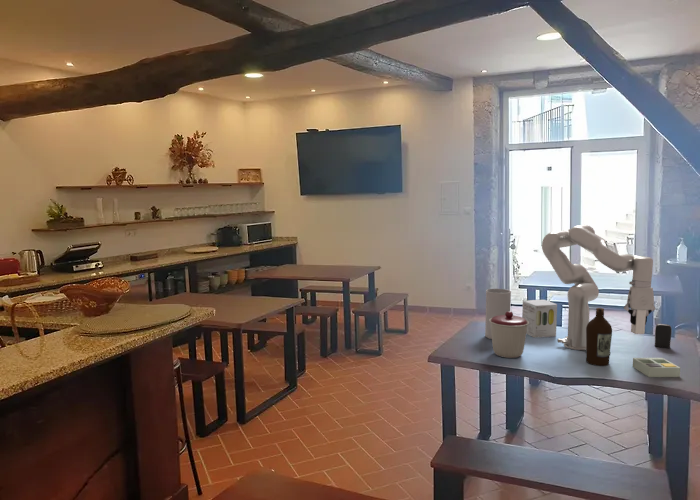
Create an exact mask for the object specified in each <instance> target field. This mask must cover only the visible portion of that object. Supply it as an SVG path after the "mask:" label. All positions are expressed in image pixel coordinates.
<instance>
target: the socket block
mask: <svg viewBox="0 0 700 500" xmlns="http://www.w3.org/2000/svg"><path fill="white" fill-rule="evenodd" d="M632 367H633V368H634V369H635V370H637V371H639V372H640V373H642V374H643V375H644V376H645V377H647V378H680V377H681V367H680V366H678V365H676V364H675V363H673V362H671V361H669V360H667V359H665V358H664V357H632Z"/></svg>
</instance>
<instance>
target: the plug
mask: <svg viewBox="0 0 700 500" xmlns="http://www.w3.org/2000/svg"><path fill="white" fill-rule="evenodd" d="M635 316H636V324H635V325H634V324H632V323H631V322H630V324H631V325H630V332H631V333H632V334H634V335H645V331H646V330H645V329H646V325H645V320H646V310H636V314H635Z"/></svg>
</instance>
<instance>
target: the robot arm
mask: <svg viewBox="0 0 700 500" xmlns="http://www.w3.org/2000/svg"><path fill="white" fill-rule="evenodd" d="M571 246H579V247H581V248H582V249H584V250H586V251H588V252H589V253H591V254H593V256H594V257H595V258H596V260H597V261H598V262H599V263H600V264H602V265H603V266H605V267H607V268H609V269H610V270H612V271H614V272H618V273H623V272H624V273H625V272H628V271H632V279H631V281H629V282H628V283H629V285H631V286H629V290H628V294H627V300H626V303H625V305H624V307H623V309H624V310H625V311H627V312H628V313H629V315H630V319H629V322H630V324H631V323H632V324H634V325H635V324H636V316H635V314H636V310H646V320H645V326H646V325H647V322H648V317H649V315H650V314H651V313H652V312H654V311H656V306H655V295H654V289H653V287H652V280H653V279H652V277H653V268H654V267H653V266H654V259H653V258H652V257H649V256H643V255H642V256H639V255H634V254H630V253H625V254H618V253H616V252H614V251H613V250H611V249H610V248H608V247H607V245H606V239H604V238H603V237H601V236H599V235H597V234H596V232H595V230H594V228H593V227H592V226H590V225H588V224H584V225H582V224H581V225H574V226H573V227H571V228H570V229H566V230H558V231H557V230H556V231H551V232H548V233H547V234H545V236H544V237H543V239H542V242H541V249H542V253H543V255H544V256H545V258H546V260H548V262H549V263H550V265H551V267H552V269H553V271H554V272H555V273H556V275H557V278H559V281H561V283H563V284H564V285H572V286H570V287H569V289H568V291H567V303H568V316H567V317H568V319H567V320H568V321H567V336H565V337H563V338H557V340H556V341H557V343H561V344H563V346H564V348H567V349H570V350H574V351H575V350H576V351H586V327H587V324H588V323H589V322H590V307H589V302H592V301H594V300H596V299H597V298H598V296H599V294H600V291H599V287H598V285H597V284H596V282H595V281H594V279H593V278H592V276H591V274H590V272H588V270H587V269H586V268H585V267H584V266H583V265H581V264H579V263H572V262H571V261H570V259H569V258H568V256H567V255H566V253H564V251H562V250H561V248H567V247H571Z"/></svg>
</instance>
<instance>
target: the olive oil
mask: <svg viewBox="0 0 700 500" xmlns="http://www.w3.org/2000/svg"><path fill="white" fill-rule="evenodd" d="M612 336H613V329H612V325H611V324H610V323H609V321H608V320H607V319H606V318H605V308H602V307H596V309H595V316H594V317H593V318H591V320H589V323H588V324H587V327H586V350H585V351H586V352H585V354H586V357H585V361H586V363H587V364H589V365H592V366H597V367H598V366H599V367H604V366H605V367H606V366H609V364H610V356H611V346H612Z"/></svg>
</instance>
